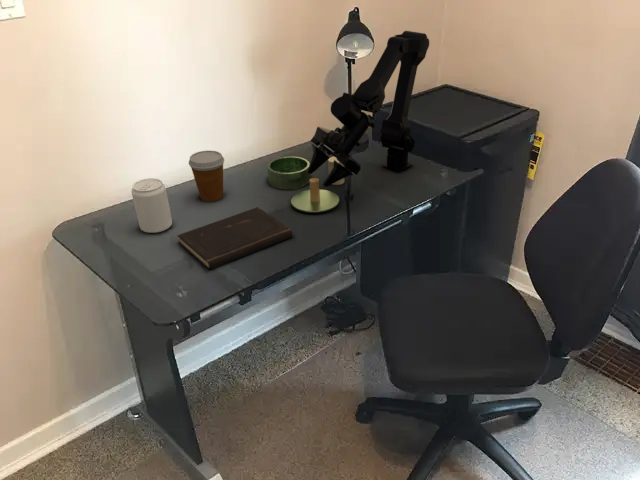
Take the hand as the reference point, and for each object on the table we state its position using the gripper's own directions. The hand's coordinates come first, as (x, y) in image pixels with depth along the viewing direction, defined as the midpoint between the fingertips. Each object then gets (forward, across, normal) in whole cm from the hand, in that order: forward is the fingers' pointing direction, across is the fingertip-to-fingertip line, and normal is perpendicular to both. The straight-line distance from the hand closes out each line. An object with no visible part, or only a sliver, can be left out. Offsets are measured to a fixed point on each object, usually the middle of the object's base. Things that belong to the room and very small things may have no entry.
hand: (316, 179), depth 164 cm
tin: (+5, -17, +5) cm, 18 cm away
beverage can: (+34, -10, -25) cm, 44 cm away
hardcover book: (+24, +8, -14) cm, 29 cm away
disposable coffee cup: (+22, -19, -12) cm, 31 cm away
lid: (+5, 0, +4) cm, 6 cm away
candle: (-3, -9, +13) cm, 16 cm away
